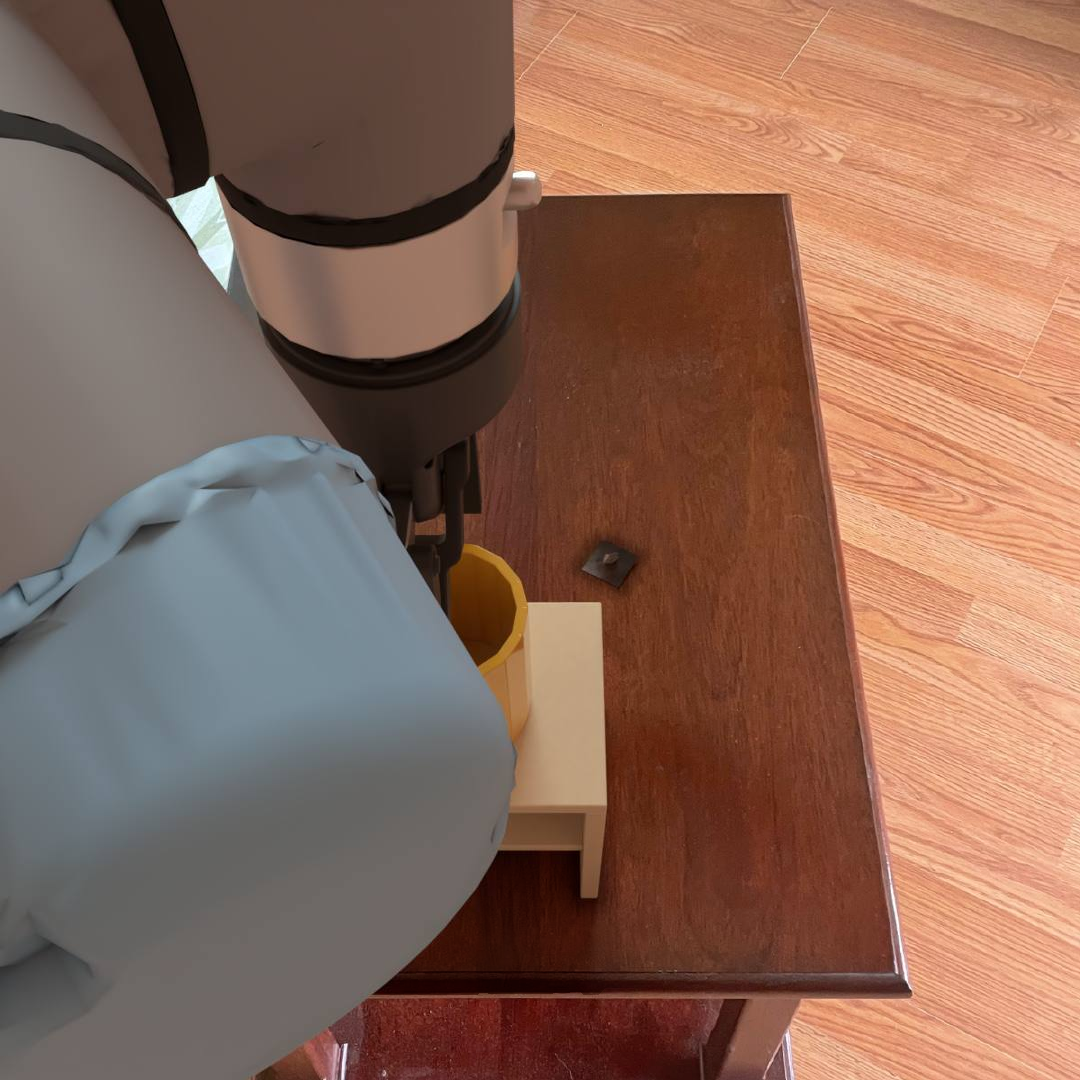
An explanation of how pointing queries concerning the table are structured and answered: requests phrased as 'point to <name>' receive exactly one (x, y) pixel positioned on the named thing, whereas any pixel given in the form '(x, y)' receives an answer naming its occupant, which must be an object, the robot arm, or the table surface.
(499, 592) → the cup
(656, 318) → the table surface
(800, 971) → the table surface
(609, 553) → the dark square tile
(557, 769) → the shelf
